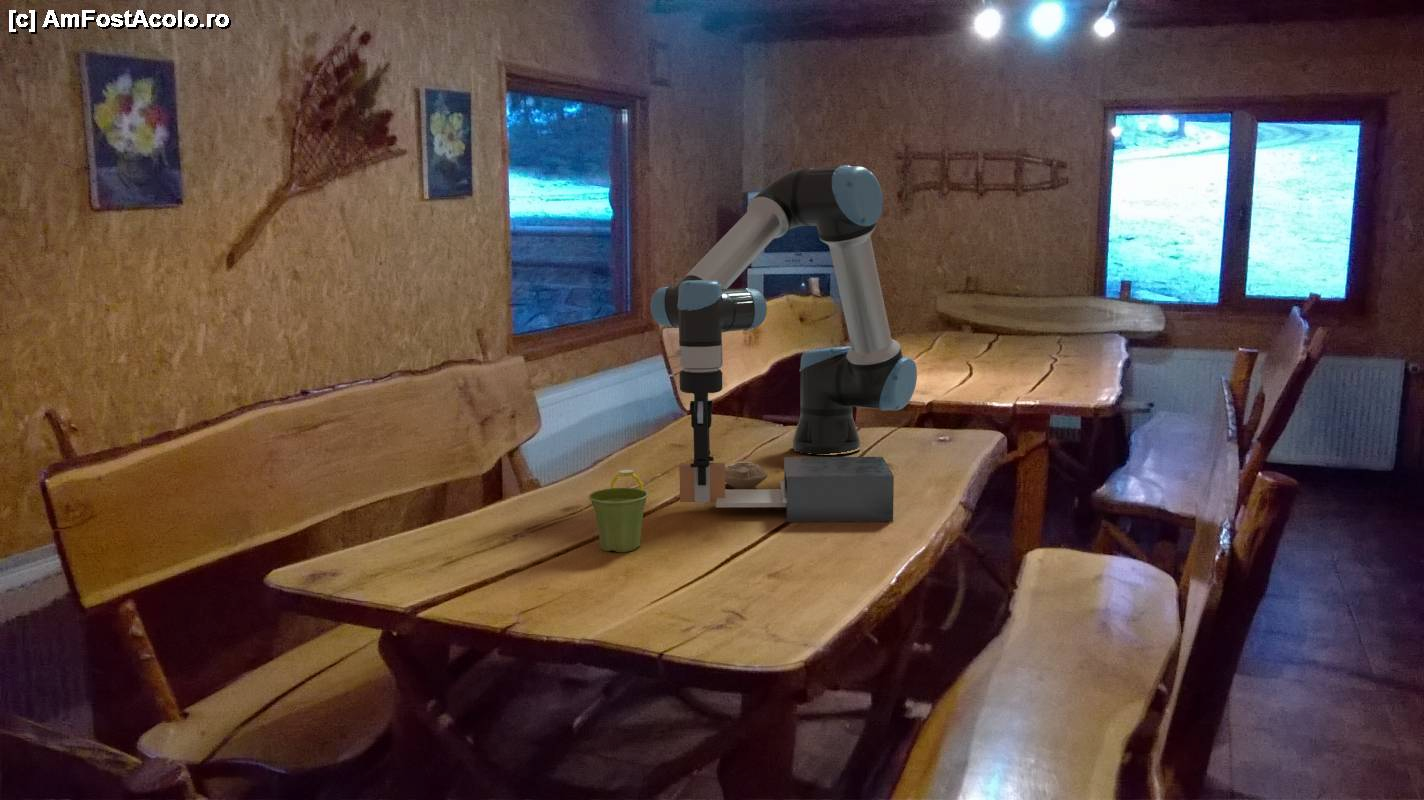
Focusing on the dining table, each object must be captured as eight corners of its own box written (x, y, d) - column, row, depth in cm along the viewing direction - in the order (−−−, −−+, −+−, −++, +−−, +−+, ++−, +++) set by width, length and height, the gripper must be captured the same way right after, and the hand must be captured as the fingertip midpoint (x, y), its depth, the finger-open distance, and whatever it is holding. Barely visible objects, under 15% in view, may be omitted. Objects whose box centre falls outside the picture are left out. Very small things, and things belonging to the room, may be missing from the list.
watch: (610, 504, 208) (607, 473, 207) (615, 501, 210) (612, 470, 210) (641, 504, 206) (638, 472, 205) (646, 500, 209) (643, 469, 208)
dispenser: (780, 499, 208) (779, 457, 207) (882, 499, 208) (882, 456, 206) (782, 522, 193) (782, 476, 191) (893, 521, 192) (893, 475, 191)
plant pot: (603, 559, 172) (602, 504, 171) (581, 544, 181) (579, 491, 179) (659, 550, 177) (658, 496, 175) (635, 536, 185) (634, 484, 183)
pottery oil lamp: (767, 477, 226) (777, 449, 222) (754, 510, 216) (764, 482, 212) (726, 461, 226) (736, 433, 223) (711, 494, 216) (721, 465, 212)
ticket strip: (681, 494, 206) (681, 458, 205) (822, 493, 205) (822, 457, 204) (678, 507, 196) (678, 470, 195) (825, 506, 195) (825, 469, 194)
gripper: (681, 363, 205) (683, 490, 208) (676, 375, 189) (679, 511, 193) (723, 363, 205) (724, 489, 208) (721, 374, 189) (723, 510, 193)
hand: (702, 499), depth 201 cm, fingers closed on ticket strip, 2 cm apart
